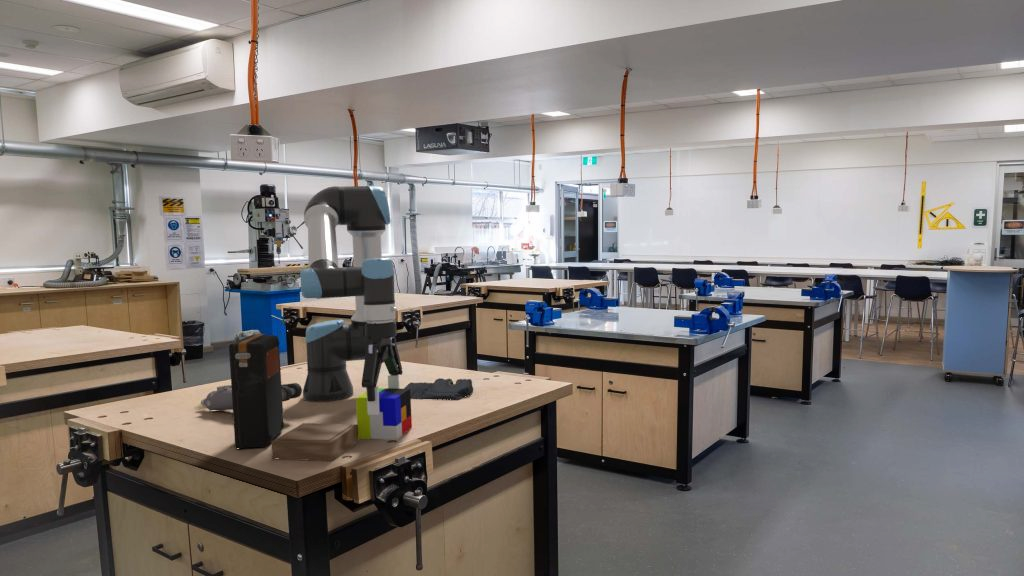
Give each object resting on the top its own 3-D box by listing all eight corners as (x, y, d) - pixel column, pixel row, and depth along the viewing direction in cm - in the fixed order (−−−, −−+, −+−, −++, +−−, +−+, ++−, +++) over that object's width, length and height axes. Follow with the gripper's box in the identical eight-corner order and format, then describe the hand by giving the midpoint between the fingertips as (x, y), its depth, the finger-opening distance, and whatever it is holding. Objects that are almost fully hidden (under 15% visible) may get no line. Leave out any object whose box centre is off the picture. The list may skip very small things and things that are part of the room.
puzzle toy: (397, 439, 151) (395, 398, 150) (357, 438, 153) (355, 397, 152) (411, 427, 161) (410, 388, 160) (375, 426, 163) (373, 388, 162)
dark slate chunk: (412, 389, 206) (411, 374, 206) (477, 390, 202) (477, 375, 201) (394, 400, 191) (393, 385, 191) (464, 402, 187) (463, 386, 187)
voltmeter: (252, 431, 162) (246, 334, 160) (287, 429, 162) (281, 332, 161) (230, 451, 146) (223, 343, 144) (269, 449, 147) (262, 342, 145)
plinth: (304, 439, 153) (303, 422, 153) (358, 440, 151) (357, 423, 150) (272, 459, 139) (271, 440, 139) (331, 460, 137) (330, 441, 137)
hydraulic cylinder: (289, 416, 167) (282, 378, 167) (196, 425, 183) (190, 391, 183) (309, 409, 173) (302, 373, 174) (218, 418, 190) (212, 385, 190)
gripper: (374, 327, 142) (379, 420, 143) (412, 315, 166) (415, 395, 168) (343, 327, 143) (348, 420, 144) (385, 316, 168) (388, 395, 169)
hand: (384, 407), depth 156 cm, fingers open, 13 cm apart
